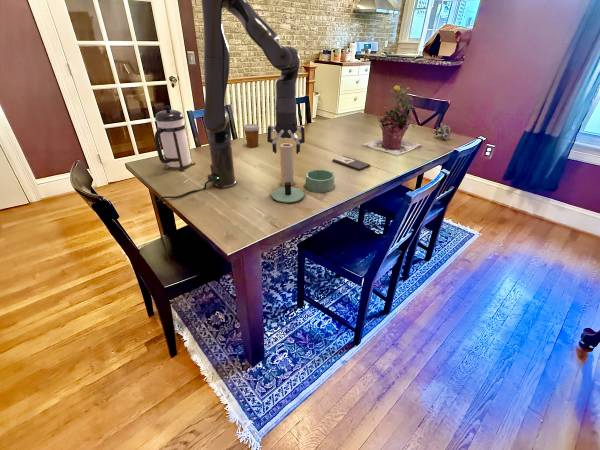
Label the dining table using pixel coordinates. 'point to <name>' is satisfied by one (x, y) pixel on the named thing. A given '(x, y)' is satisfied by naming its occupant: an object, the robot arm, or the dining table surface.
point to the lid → (288, 194)
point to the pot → (319, 180)
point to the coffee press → (172, 139)
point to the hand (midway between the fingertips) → (286, 153)
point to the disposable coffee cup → (251, 134)
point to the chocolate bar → (351, 163)
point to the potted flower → (395, 126)
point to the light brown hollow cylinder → (286, 163)
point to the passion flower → (443, 131)
